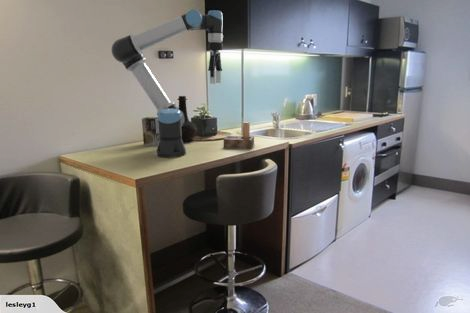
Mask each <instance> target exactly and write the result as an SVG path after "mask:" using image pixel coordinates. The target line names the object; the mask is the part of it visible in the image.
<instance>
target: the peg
mask: <svg viewBox="0 0 470 313" xmlns="http://www.w3.org/2000/svg"><path fill="white" fill-rule="evenodd" d="M250 124H251V123H250V122H249V121H243V122H242V136H243V139H250V136H251V135H250V127H251V126H250Z"/></svg>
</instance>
